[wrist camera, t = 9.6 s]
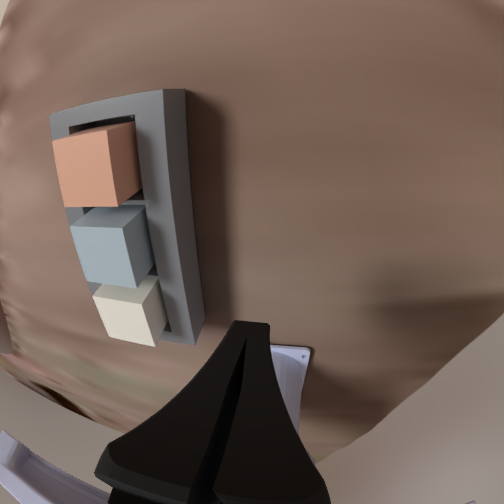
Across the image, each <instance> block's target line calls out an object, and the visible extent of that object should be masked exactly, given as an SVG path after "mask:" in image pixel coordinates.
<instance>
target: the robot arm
mask: <svg viewBox="0 0 504 504" xmlns="http://www.w3.org/2000/svg"><path fill="white" fill-rule="evenodd" d="M309 357H310V349H309V348H307V347H293V346H279V345H270V325H269V324H268V323H259V322H248V321H238V320H235V321H233V322H232V324H231V326H230V328H229V330H228V331H227V333H226V335H225V336H224V338H223V340H222V341H221V343H220V344H219V346H218V347H217V348H216V350H215V351H214V353H213V354H212V355H211V357H210V358H209V359H208V361H207V362H206V363H205V365H204V366H203V367H202V368H201V369H200V371H199V372H198V373H197V374H196V375H195V376H194V378H193V379H192V380H191V381H190V382H189V383H188V384H187V385H186V386H185V387H184V388H183V389H182V390H181V391H180V392H179V393H178V394H177V395H176V396H175V397H174V398H173V399H172V400H171V401H170V402H168V403H167V404H166V405H165V406H164V407H163V408H162V409H160V410H159V411H158V412H157V413H155V414H154V415H153V416H151V417H150V418H148V419H147V420H146V421H144V422H143V423H141V424H140V425H139V426H137V427H136V428H134V429H133V430H131V431H129V432H128V433H126V434H124V435H123V436H121V437H119V438H117V439H116V440H114V441H112V442H110V443H109V444H108V445H107V447H106V448H105V450H104V452H103V453H102V455H101V457H100V460H99V462H98V464H97V467H96V469H95V472H94V474H95V476H96V477H97V478H98V479H100V480H102V481H103V482H105V483H106V484H108V485H110V486H111V487H113V489H112V491H111V494H109V493H107V492H105V491H103V490H100V489H98V488H96V487H94V486H92V485H90V484H88V483H86V482H84V481H81V480H80V479H78V478H75V477H74V476H72V475H70V474H68V473H66V472H64V471H63V470H61V469H59V468H57V467H56V466H54V465H53V464H51V463H49V462H48V461H46V460H44V459H43V458H41V457H40V456H38V455H36V454H35V453H33V452H32V451H30V449H29V448H27V447H26V446H24V445H23V444H22V443H21V442H20V441H18V440H17V439H15V438H14V437H12V436H11V435H10V434H9V433H7V432H6V431H4V430H3V431H2V433H1V434H0V484H1V485H2V486H3V487H4V488H5V489H7V490H8V491H9V492H10V493H11V494H12V495H13V496H14V497H15V498H16V499H17V500H18V501H19V502H20V503H21V504H331V501H330V497H329V494H328V490H327V487H326V485H325V481H324V479H323V478H322V476H321V475H320V473H319V472H318V470H317V469H316V466H315V460H314V458H313V457H312V456H311V455H310V453H309V452H308V451H306V450H305V448H304V446H303V444H302V441H301V440H300V438H299V421H300V403H301V392H302V388H303V383H304V379H305V375H306V371H307V366H308V362H309ZM466 504H476V503H475V501H471V502H469V503H466Z"/></svg>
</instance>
